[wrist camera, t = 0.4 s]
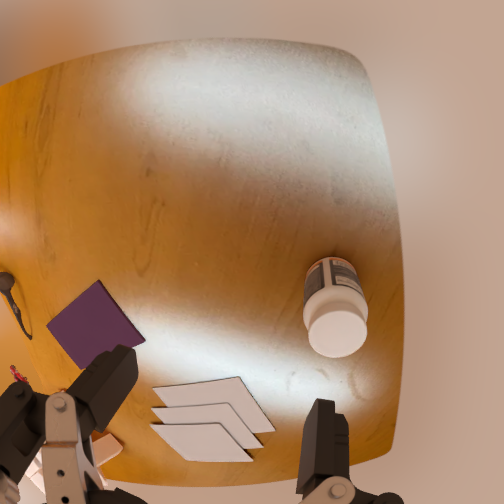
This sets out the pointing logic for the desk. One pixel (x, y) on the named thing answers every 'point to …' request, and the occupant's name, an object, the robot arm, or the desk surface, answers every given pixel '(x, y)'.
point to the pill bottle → (334, 308)
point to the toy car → (17, 375)
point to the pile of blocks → (102, 451)
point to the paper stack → (211, 420)
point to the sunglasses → (3, 284)
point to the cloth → (93, 326)
